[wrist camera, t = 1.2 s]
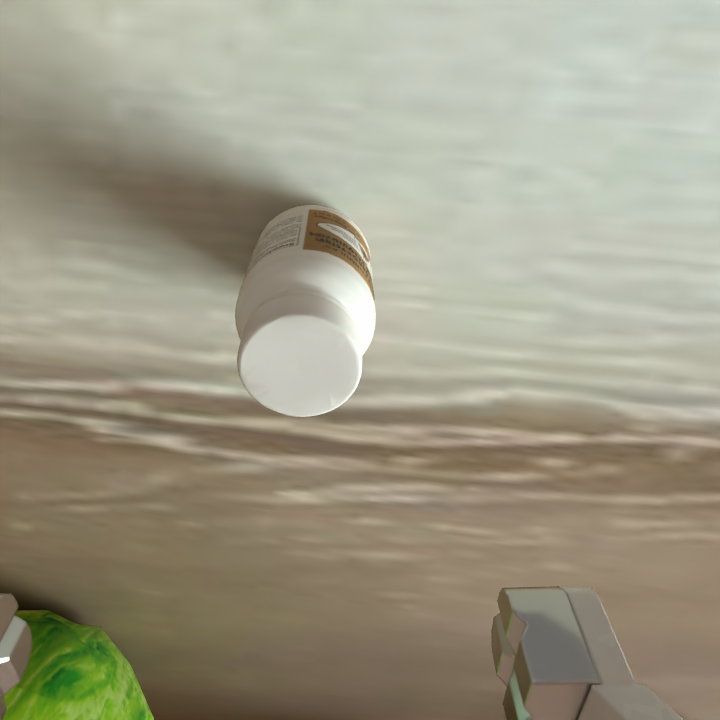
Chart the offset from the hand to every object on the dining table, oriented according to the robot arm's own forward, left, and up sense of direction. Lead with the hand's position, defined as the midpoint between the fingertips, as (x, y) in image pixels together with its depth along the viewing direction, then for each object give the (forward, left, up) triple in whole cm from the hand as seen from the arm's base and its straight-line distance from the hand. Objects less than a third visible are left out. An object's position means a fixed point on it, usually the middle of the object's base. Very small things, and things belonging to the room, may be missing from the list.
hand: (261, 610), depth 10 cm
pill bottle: (0, 0, -15) cm, 15 cm away
